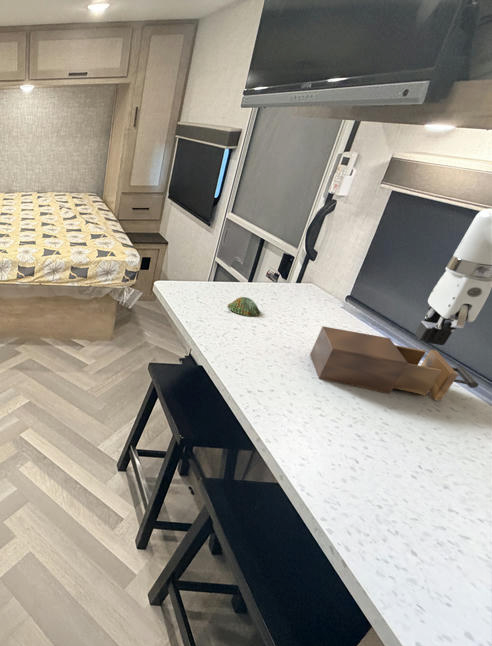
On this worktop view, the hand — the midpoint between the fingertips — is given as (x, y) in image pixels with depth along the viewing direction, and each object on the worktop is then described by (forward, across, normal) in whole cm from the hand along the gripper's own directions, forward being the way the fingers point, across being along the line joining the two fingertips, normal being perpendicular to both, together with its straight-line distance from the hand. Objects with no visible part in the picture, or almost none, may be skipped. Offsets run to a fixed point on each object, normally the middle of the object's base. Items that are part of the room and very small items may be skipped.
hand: (430, 338), depth 94 cm
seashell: (+16, +33, +33) cm, 49 cm away
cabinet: (+15, +2, +10) cm, 19 cm away
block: (0, 0, 0) cm, 0 cm away
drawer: (+14, +2, -2) cm, 15 cm away
